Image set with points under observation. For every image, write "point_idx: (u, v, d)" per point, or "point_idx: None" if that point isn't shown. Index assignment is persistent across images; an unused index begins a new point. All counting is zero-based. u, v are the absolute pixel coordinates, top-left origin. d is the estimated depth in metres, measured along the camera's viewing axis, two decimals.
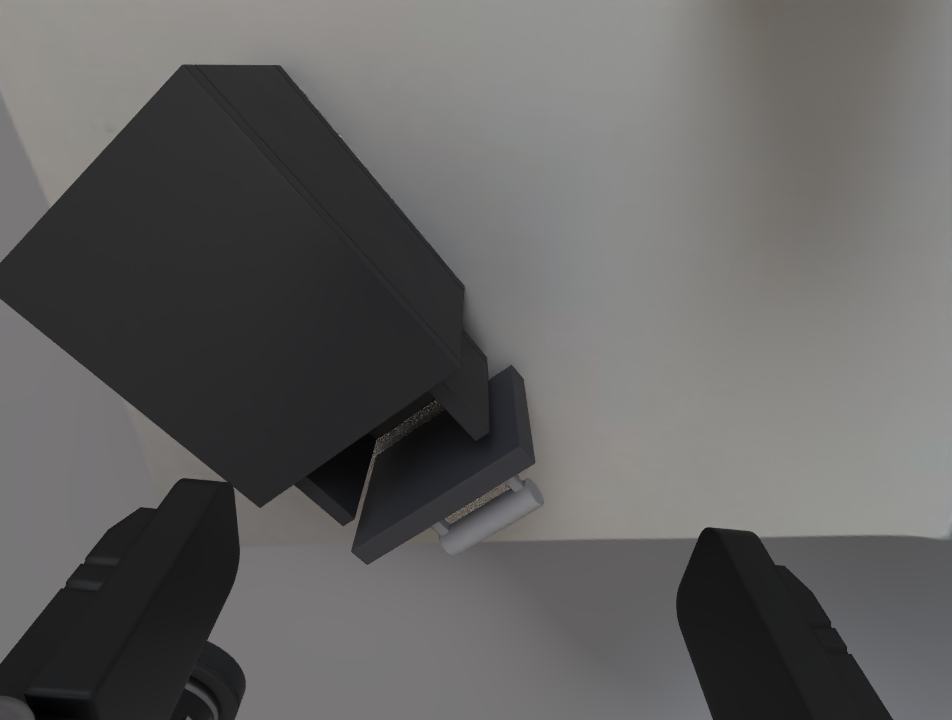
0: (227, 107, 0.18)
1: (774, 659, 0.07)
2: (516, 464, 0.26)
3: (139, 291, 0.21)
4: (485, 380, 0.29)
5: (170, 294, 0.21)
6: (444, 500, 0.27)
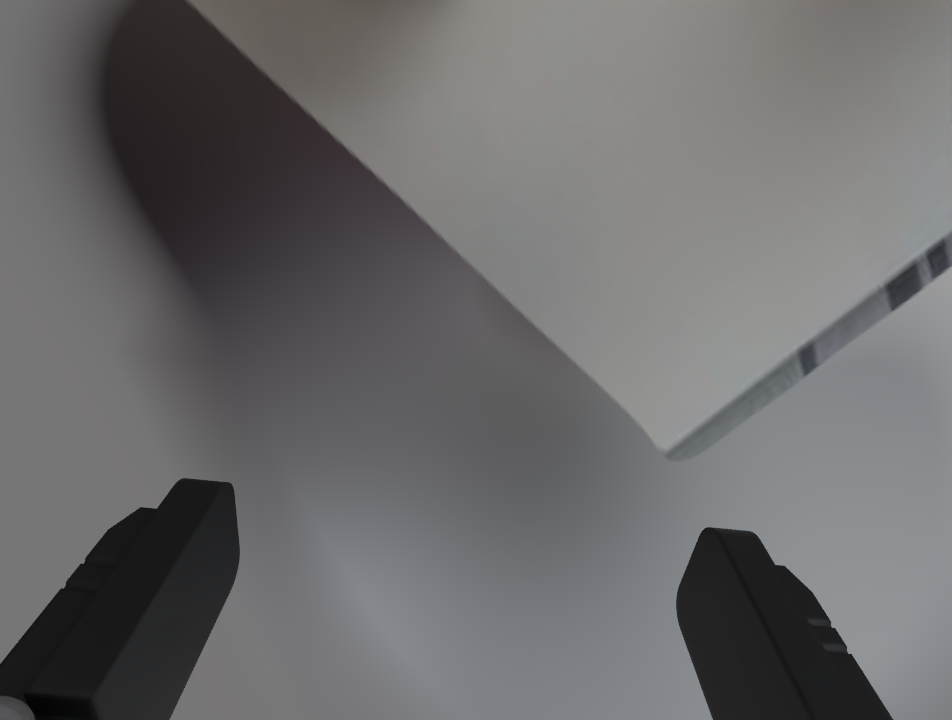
0: None
1: (774, 659, 0.07)
2: None
3: None
4: None
5: None
6: None
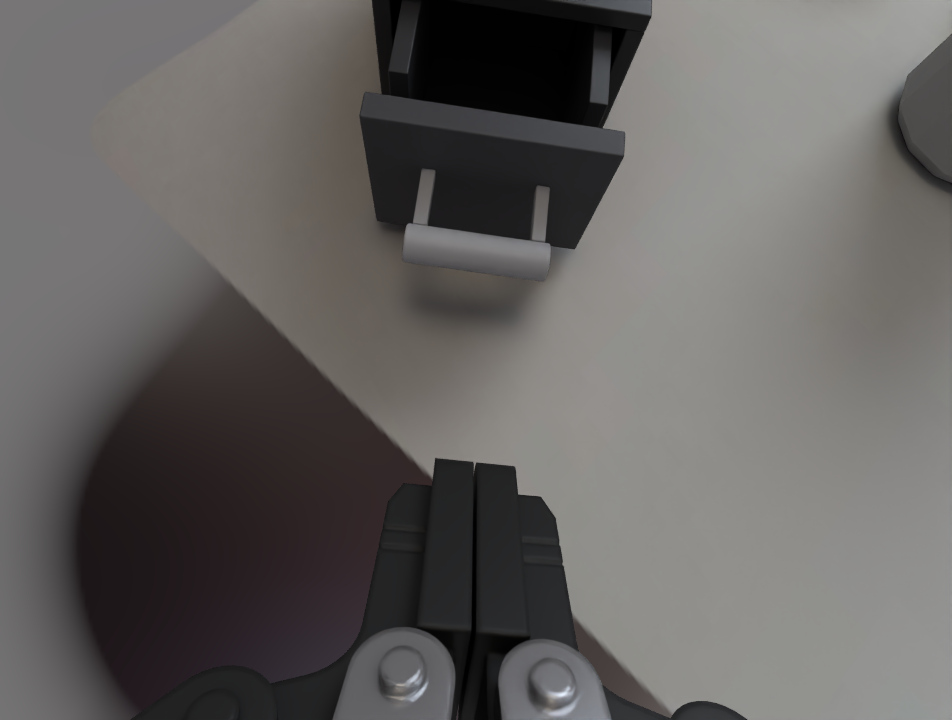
0: None
1: (476, 564, 0.08)
2: (607, 142, 0.22)
3: None
4: None
5: None
6: (510, 119, 0.22)
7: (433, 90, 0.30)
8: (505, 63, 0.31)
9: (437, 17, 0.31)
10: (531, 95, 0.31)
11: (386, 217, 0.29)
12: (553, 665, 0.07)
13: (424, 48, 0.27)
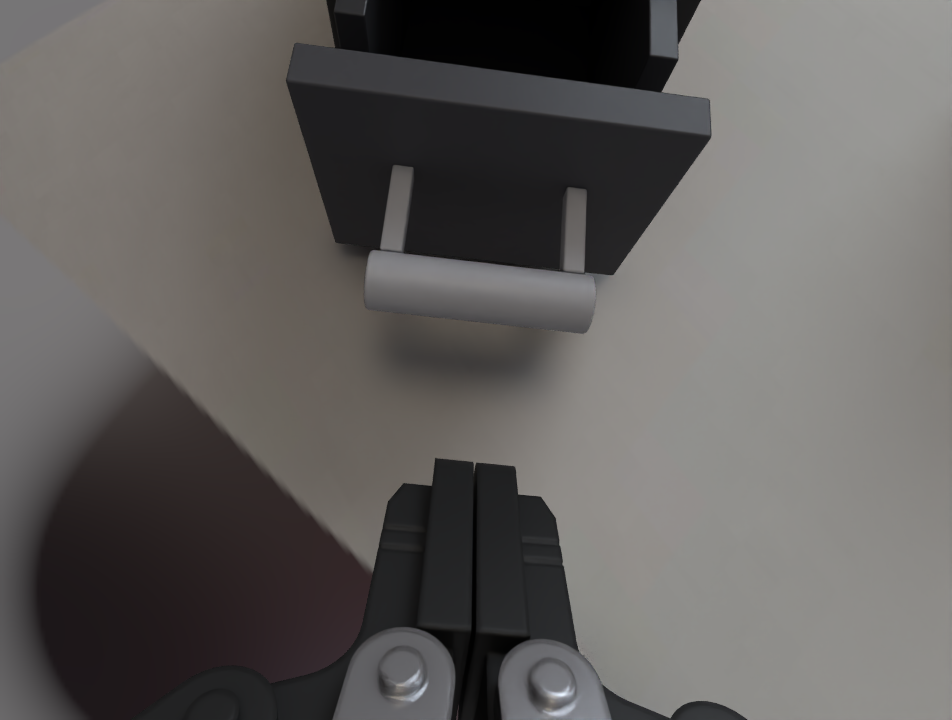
0: None
1: (476, 565, 0.08)
2: (684, 115, 0.14)
3: None
4: None
5: None
6: (529, 82, 0.14)
7: None
8: (508, 25, 0.23)
9: None
10: (545, 66, 0.23)
11: (348, 237, 0.20)
12: (553, 665, 0.07)
13: None
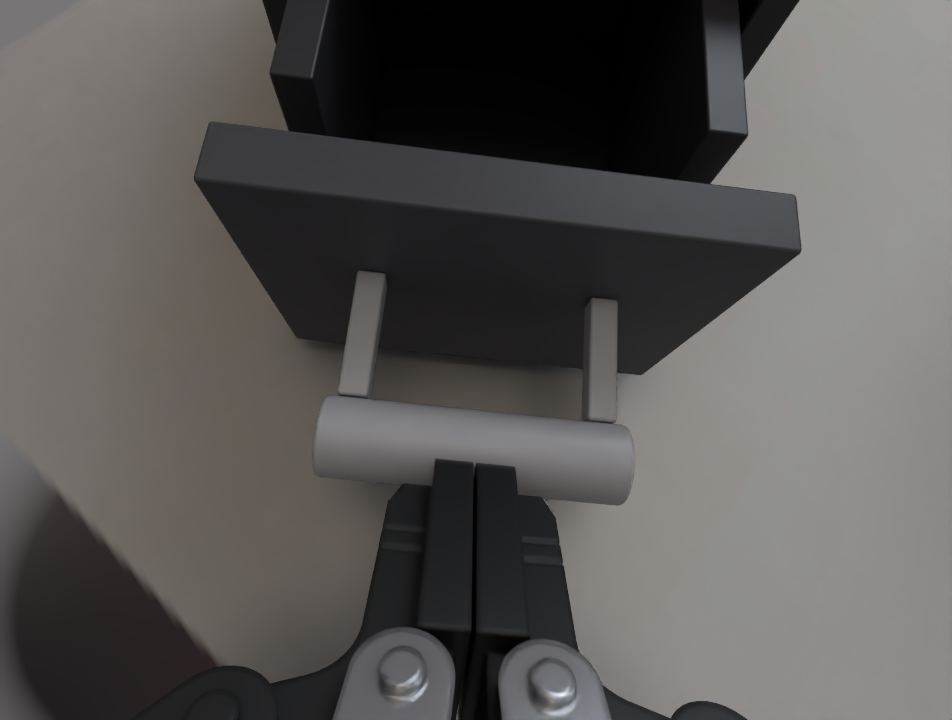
0: None
1: (476, 565, 0.08)
2: (763, 220, 0.10)
3: None
4: None
5: None
6: (543, 175, 0.10)
7: (392, 108, 0.18)
8: (510, 62, 0.19)
9: None
10: (556, 113, 0.19)
11: (311, 334, 0.16)
12: (553, 665, 0.07)
13: (367, 34, 0.15)
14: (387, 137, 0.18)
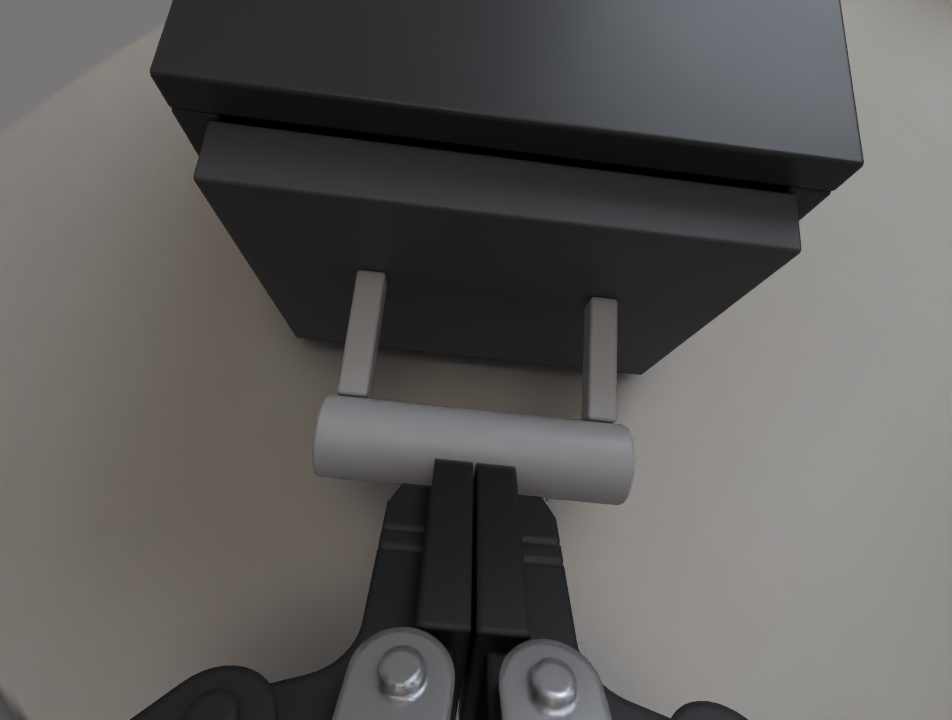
0: None
1: (476, 565, 0.08)
2: (762, 219, 0.10)
3: None
4: None
5: None
6: (543, 175, 0.10)
7: None
8: None
9: None
10: None
11: (311, 334, 0.16)
12: (553, 665, 0.07)
13: None
14: (387, 136, 0.18)
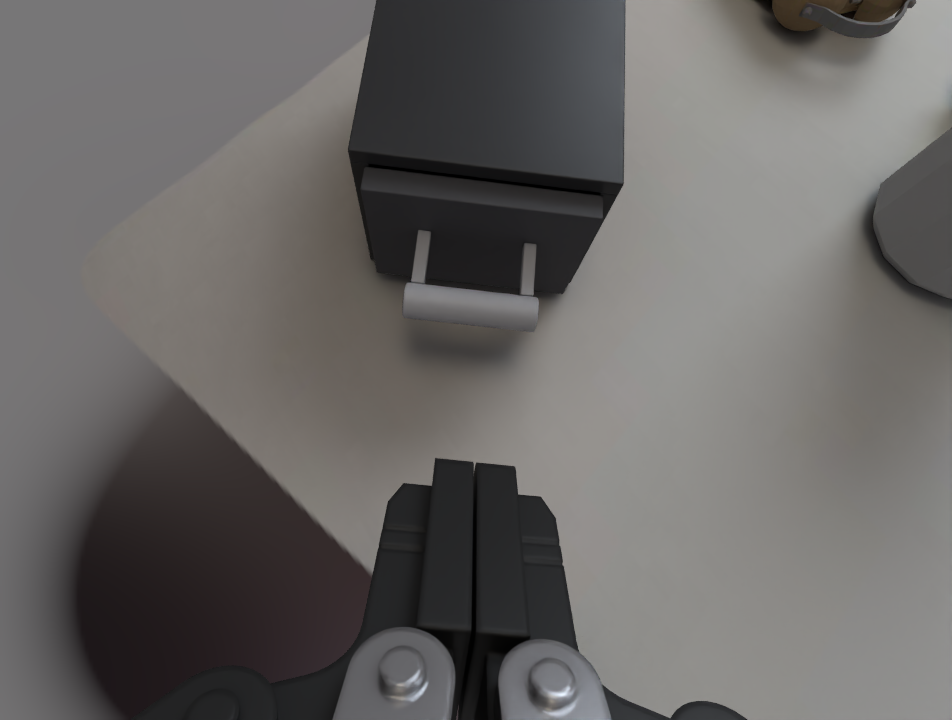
0: None
1: (476, 565, 0.08)
2: (587, 206, 0.24)
3: None
4: None
5: (489, 2, 0.26)
6: (498, 188, 0.24)
7: None
8: None
9: None
10: None
11: (385, 269, 0.31)
12: (553, 666, 0.07)
13: None
14: None
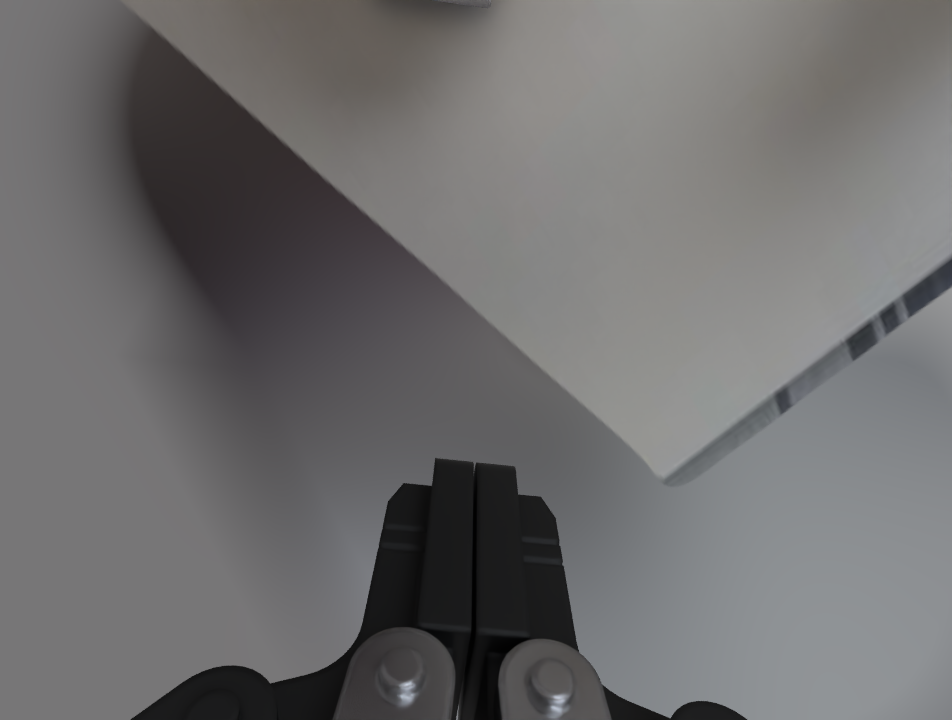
0: None
1: (476, 565, 0.08)
2: None
3: None
4: None
5: None
6: None
7: None
8: None
9: None
10: None
11: None
12: (553, 666, 0.07)
13: None
14: None
